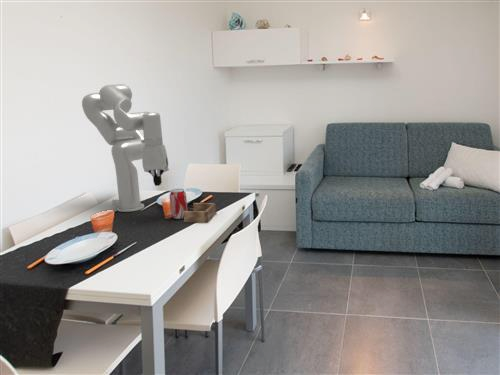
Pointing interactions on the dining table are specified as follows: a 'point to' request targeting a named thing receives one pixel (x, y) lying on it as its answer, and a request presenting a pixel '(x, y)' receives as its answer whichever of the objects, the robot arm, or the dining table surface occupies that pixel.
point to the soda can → (178, 203)
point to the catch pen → (200, 213)
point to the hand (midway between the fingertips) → (157, 184)
